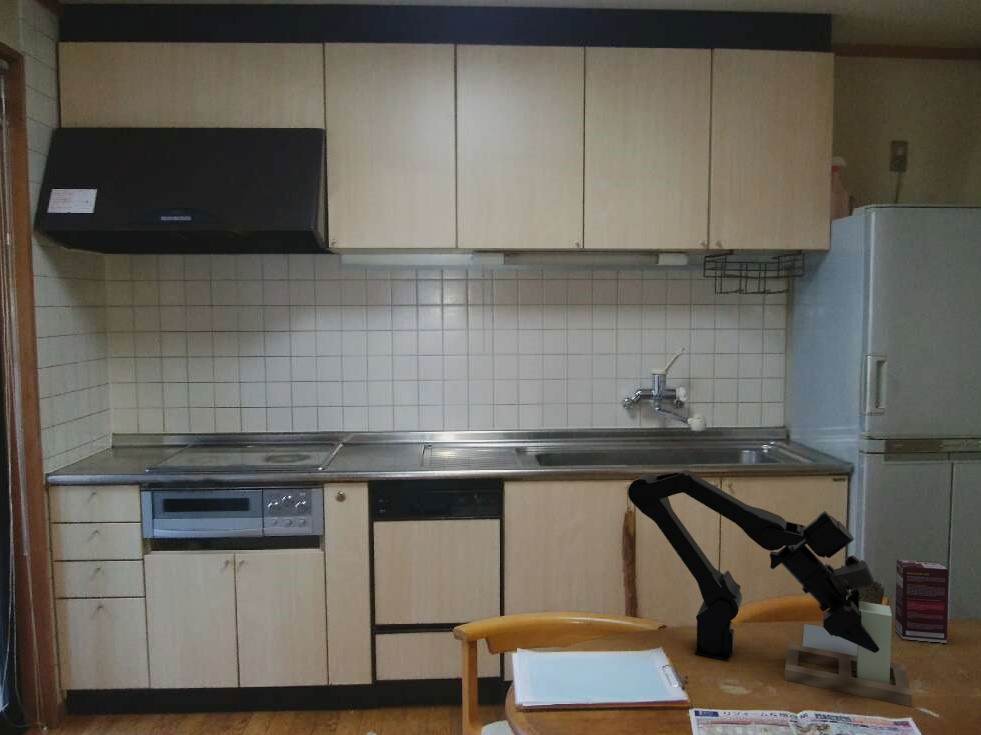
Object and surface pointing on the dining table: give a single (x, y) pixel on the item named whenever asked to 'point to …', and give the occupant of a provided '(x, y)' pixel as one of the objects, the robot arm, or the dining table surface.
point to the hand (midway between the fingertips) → (875, 640)
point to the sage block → (879, 629)
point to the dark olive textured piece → (871, 593)
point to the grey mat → (827, 641)
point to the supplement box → (921, 600)
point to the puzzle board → (844, 675)
